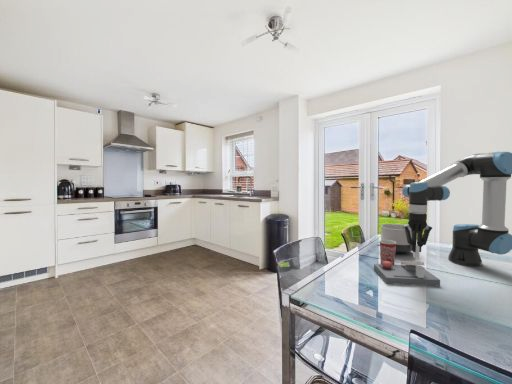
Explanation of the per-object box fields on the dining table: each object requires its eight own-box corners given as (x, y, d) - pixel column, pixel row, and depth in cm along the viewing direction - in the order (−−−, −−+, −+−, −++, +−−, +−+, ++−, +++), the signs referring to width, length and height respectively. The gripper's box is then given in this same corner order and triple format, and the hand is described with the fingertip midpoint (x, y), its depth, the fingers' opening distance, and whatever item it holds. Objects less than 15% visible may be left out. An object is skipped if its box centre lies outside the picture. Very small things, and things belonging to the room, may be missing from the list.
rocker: (412, 264, 129) (412, 261, 130) (424, 265, 118) (423, 261, 118) (401, 264, 130) (400, 261, 130) (411, 265, 119) (410, 261, 119)
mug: (392, 267, 134) (393, 244, 134) (376, 263, 141) (376, 241, 141) (400, 262, 143) (401, 240, 142) (385, 258, 149) (385, 237, 149)
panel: (419, 270, 129) (420, 262, 129) (440, 286, 112) (440, 275, 111) (374, 269, 133) (374, 260, 133) (386, 283, 115) (386, 273, 115)
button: (389, 265, 129) (389, 261, 129) (392, 268, 125) (393, 264, 124) (381, 265, 130) (381, 260, 129) (384, 268, 125) (384, 263, 125)
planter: (419, 256, 152) (420, 229, 151) (390, 256, 153) (390, 230, 151) (401, 247, 172) (402, 223, 170) (375, 247, 172) (376, 224, 171)
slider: (421, 275, 116) (421, 265, 115) (424, 278, 113) (424, 268, 113) (415, 275, 116) (415, 265, 116) (418, 277, 113) (418, 267, 113)
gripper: (427, 211, 120) (426, 256, 122) (400, 211, 122) (399, 255, 124) (436, 214, 113) (434, 261, 115) (407, 213, 115) (405, 260, 117)
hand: (416, 258), depth 119 cm, fingers closed
